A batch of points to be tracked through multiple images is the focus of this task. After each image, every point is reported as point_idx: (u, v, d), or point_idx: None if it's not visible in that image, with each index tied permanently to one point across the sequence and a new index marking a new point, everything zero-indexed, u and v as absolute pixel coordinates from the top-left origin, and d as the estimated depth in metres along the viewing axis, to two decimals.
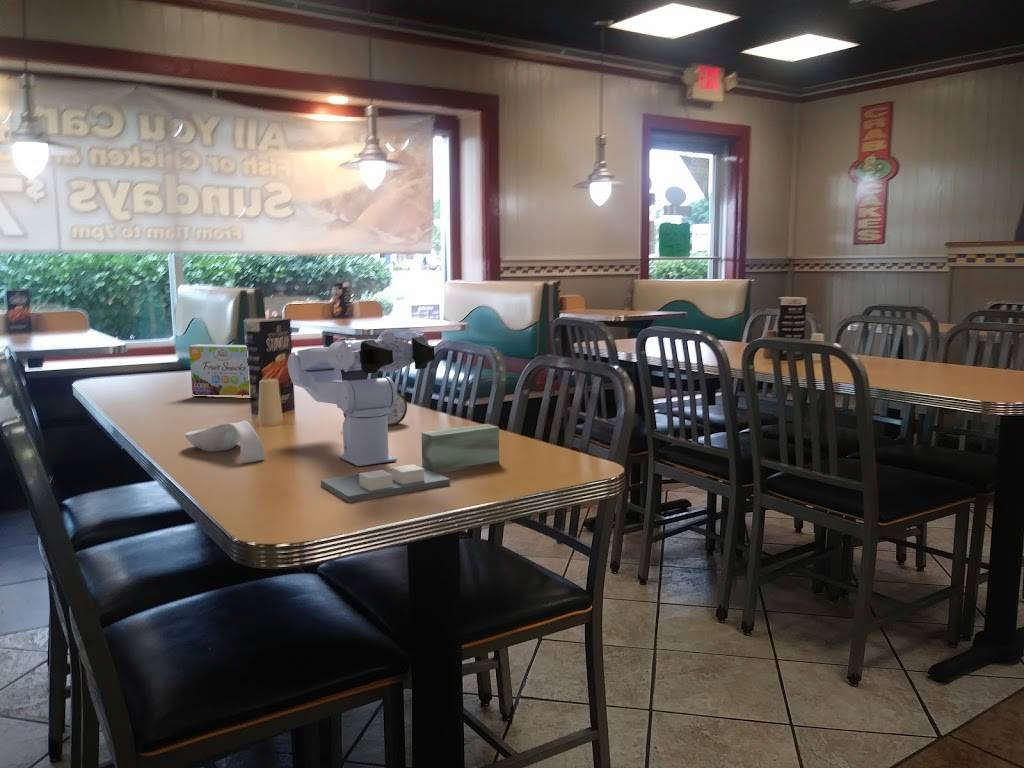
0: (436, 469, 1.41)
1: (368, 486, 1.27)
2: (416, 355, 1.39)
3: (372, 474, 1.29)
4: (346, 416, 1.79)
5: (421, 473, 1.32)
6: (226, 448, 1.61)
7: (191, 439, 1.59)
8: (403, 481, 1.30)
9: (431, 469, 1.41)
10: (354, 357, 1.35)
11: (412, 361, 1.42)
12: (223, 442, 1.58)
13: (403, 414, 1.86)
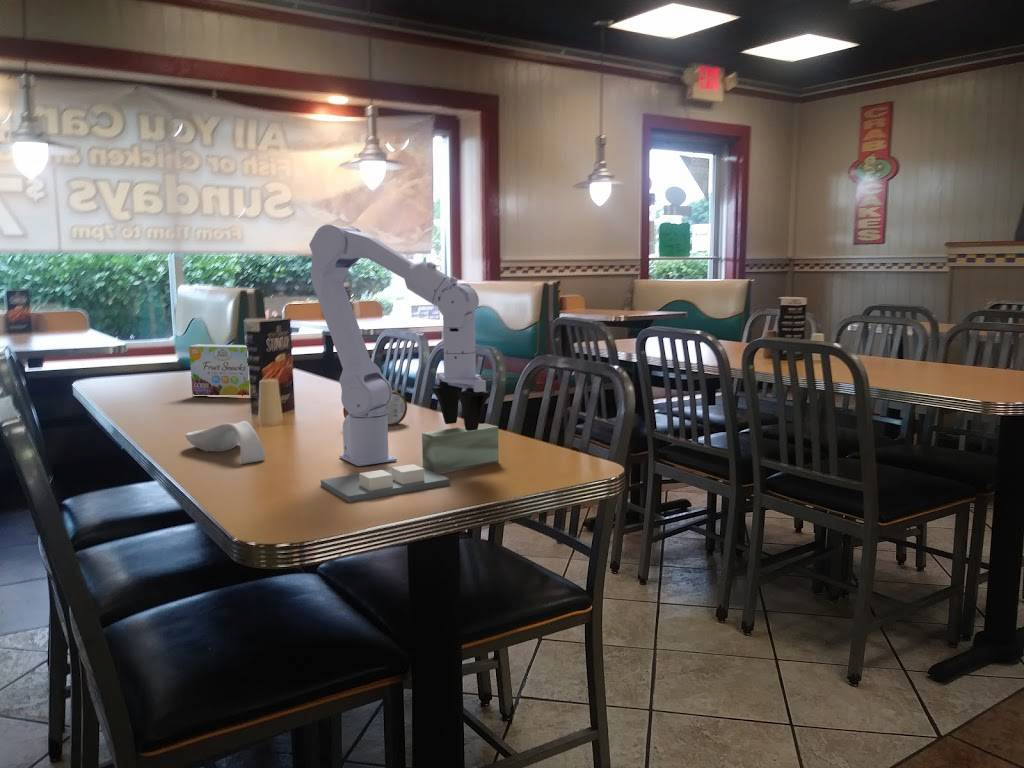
0: (438, 469, 1.41)
1: (368, 486, 1.27)
2: (448, 393, 1.47)
3: (372, 474, 1.29)
4: (346, 416, 1.79)
5: (421, 473, 1.32)
6: (226, 448, 1.60)
7: (191, 439, 1.58)
8: (403, 481, 1.30)
9: (433, 469, 1.41)
10: (480, 391, 1.38)
11: None
12: (223, 442, 1.58)
13: (403, 414, 1.86)
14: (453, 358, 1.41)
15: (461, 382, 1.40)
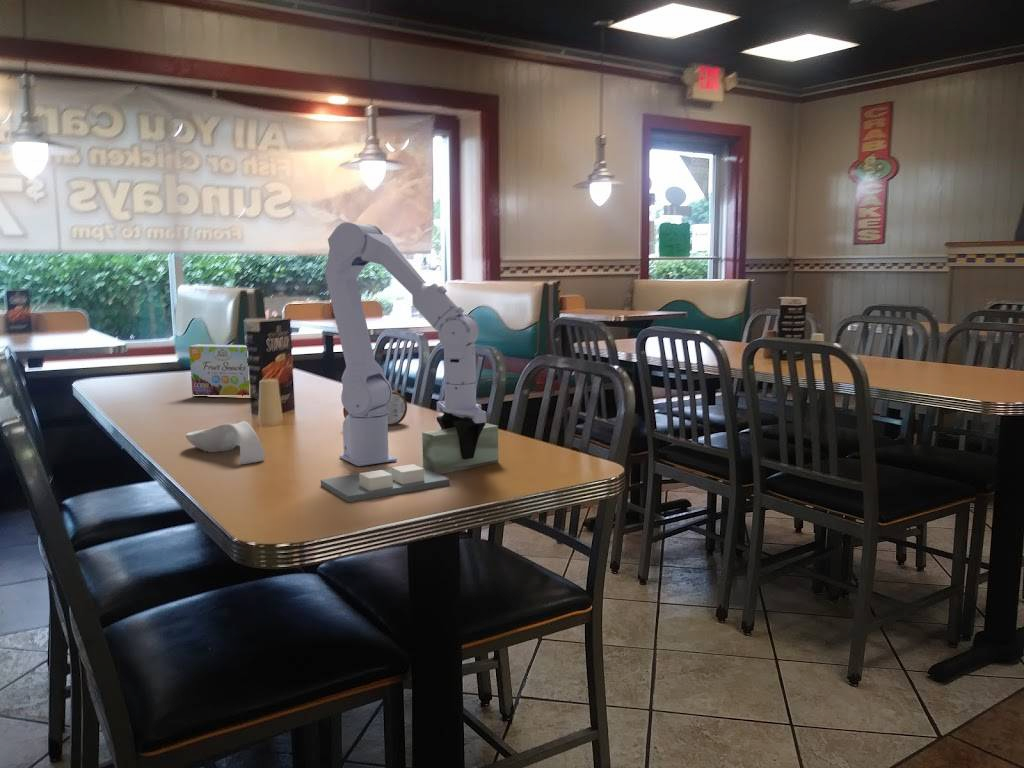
0: (438, 469, 1.41)
1: (368, 486, 1.27)
2: (452, 423, 1.47)
3: (372, 474, 1.29)
4: (346, 416, 1.79)
5: (421, 473, 1.32)
6: (227, 449, 1.60)
7: (191, 440, 1.58)
8: (403, 481, 1.30)
9: (433, 469, 1.41)
10: (481, 422, 1.39)
11: (442, 408, 1.47)
12: (223, 442, 1.58)
13: (403, 414, 1.86)
14: (454, 389, 1.41)
15: (461, 413, 1.41)
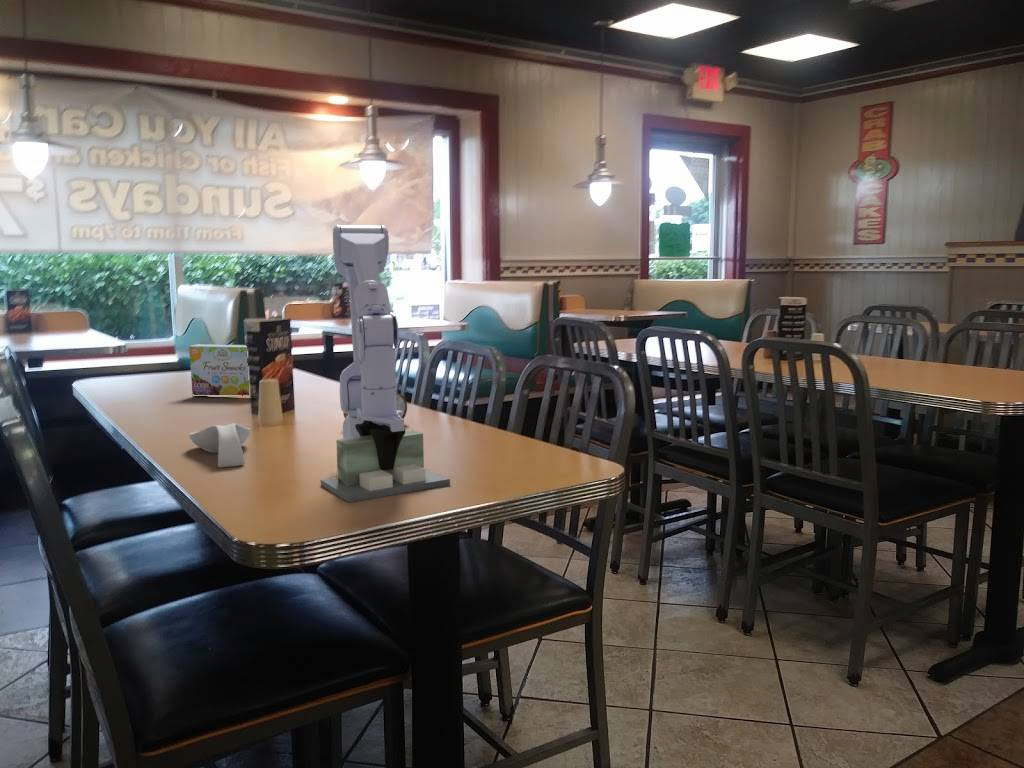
0: (351, 480, 1.29)
1: (368, 486, 1.27)
2: None
3: (372, 474, 1.29)
4: (346, 416, 1.79)
5: (422, 473, 1.32)
6: None
7: (191, 439, 1.59)
8: (404, 481, 1.30)
9: (346, 480, 1.29)
10: (398, 430, 1.27)
11: None
12: (218, 443, 1.57)
13: (403, 414, 1.86)
14: (370, 394, 1.30)
15: (378, 420, 1.29)
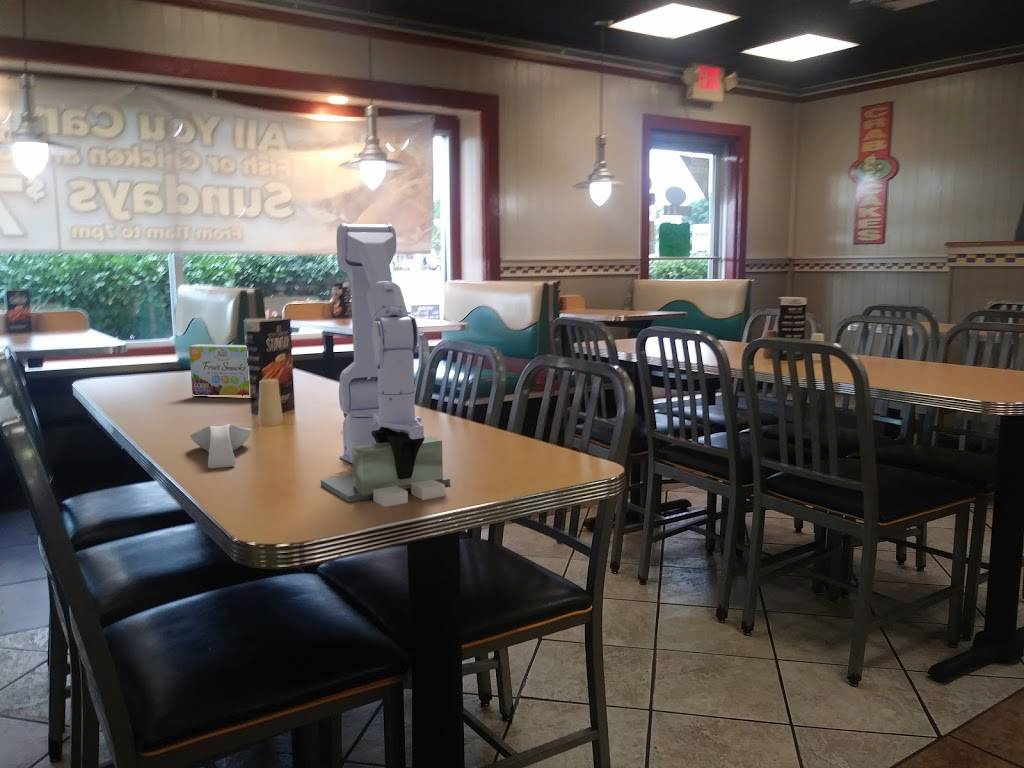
0: (367, 489, 1.24)
1: (382, 503, 1.22)
2: None
3: (386, 491, 1.24)
4: (346, 416, 1.79)
5: (442, 489, 1.27)
6: None
7: (192, 439, 1.59)
8: (423, 498, 1.25)
9: (361, 489, 1.24)
10: (417, 438, 1.22)
11: None
12: None
13: None
14: (388, 399, 1.24)
15: (396, 427, 1.23)
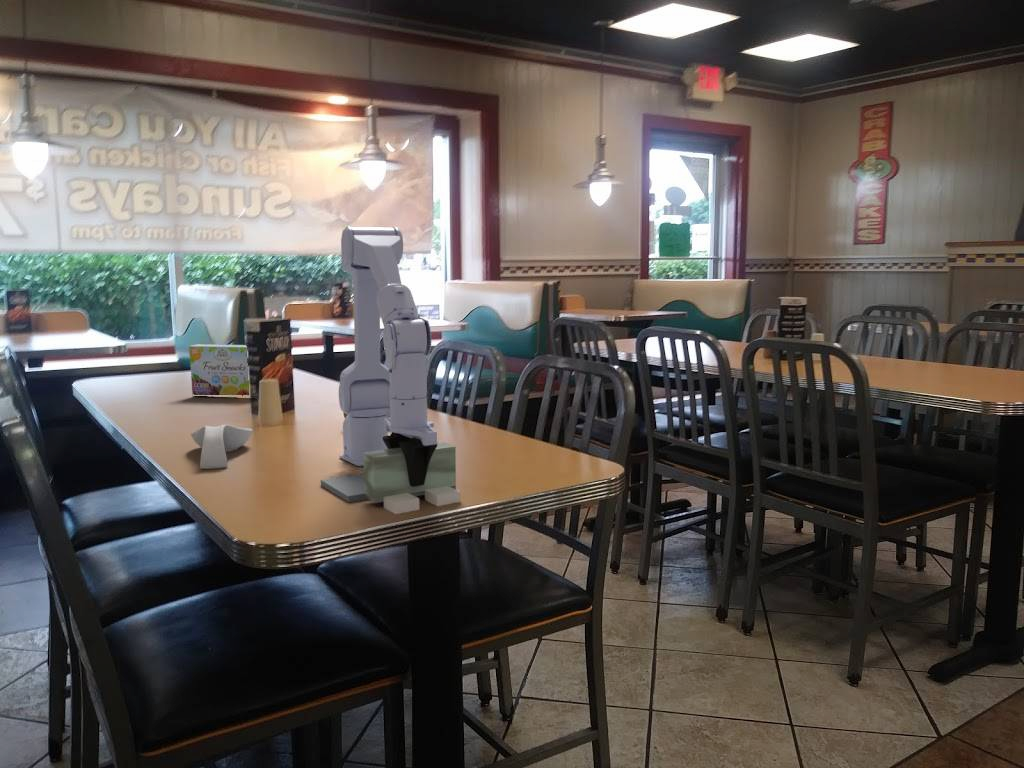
0: (379, 496, 1.20)
1: (393, 511, 1.18)
2: None
3: (397, 498, 1.20)
4: (346, 416, 1.79)
5: (457, 496, 1.23)
6: None
7: None
8: (438, 505, 1.22)
9: (373, 496, 1.20)
10: (431, 444, 1.18)
11: None
12: None
13: None
14: (400, 405, 1.21)
15: (409, 433, 1.20)
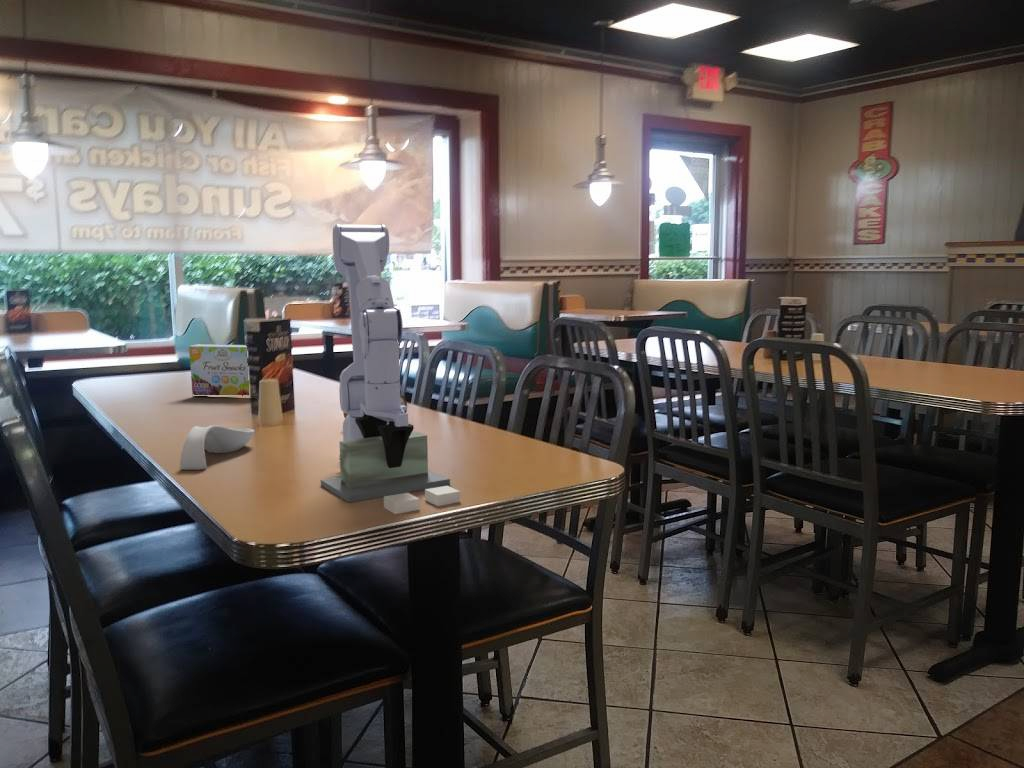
0: (354, 482, 1.28)
1: (393, 511, 1.18)
2: (372, 425, 1.35)
3: (397, 498, 1.20)
4: (346, 416, 1.79)
5: (457, 496, 1.23)
6: (220, 451, 1.58)
7: None
8: (438, 505, 1.22)
9: (348, 482, 1.28)
10: (402, 425, 1.26)
11: None
12: (210, 444, 1.56)
13: None
14: (374, 389, 1.29)
15: (382, 415, 1.28)
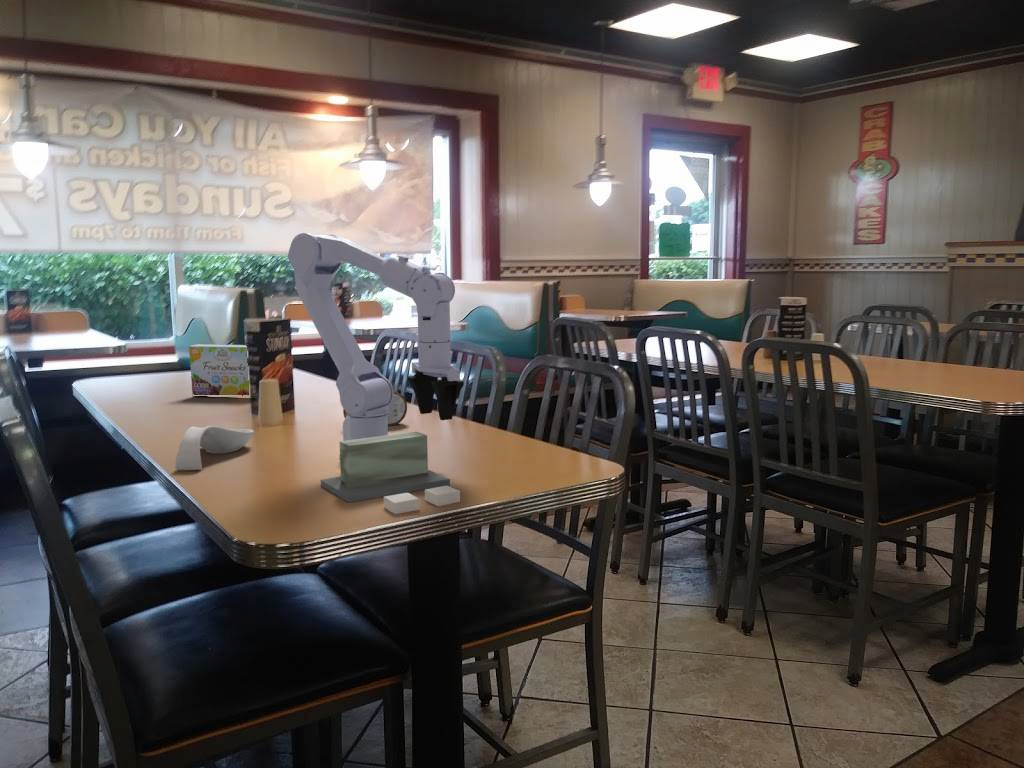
0: (354, 482, 1.28)
1: (393, 511, 1.18)
2: (424, 382, 1.46)
3: (397, 498, 1.20)
4: (346, 416, 1.79)
5: (457, 496, 1.23)
6: (218, 451, 1.58)
7: None
8: (438, 505, 1.22)
9: (348, 482, 1.28)
10: (454, 380, 1.37)
11: None
12: (208, 444, 1.56)
13: (403, 414, 1.86)
14: (427, 347, 1.40)
15: (435, 371, 1.39)
